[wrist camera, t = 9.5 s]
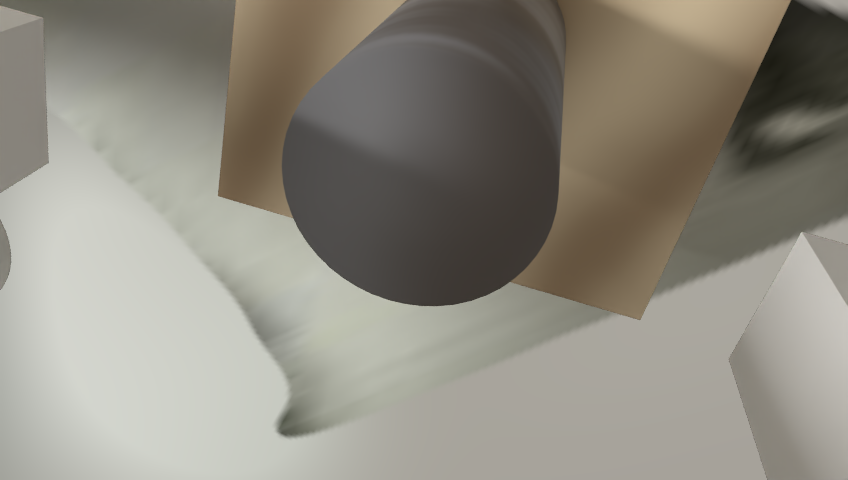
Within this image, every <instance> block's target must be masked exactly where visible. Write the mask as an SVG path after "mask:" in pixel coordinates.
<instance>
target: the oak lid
mask: <svg viewBox="0 0 848 480" xmlns="http://www.w3.org/2000/svg"><path fill="white" fill-rule="evenodd" d="M790 1H791V0H236V5H235V16H234V27H233V38H232V49H231V60H230V71H229V82H228V92H227V103H226V114H225V125H224V136H223V147H222V158H221V169H220V180H219V191H218V196H220V197H223V198H226V199H230V200H233V201H237V202H240V203H243V204H247V205H250V206H254V207H257V208H260V209H264V210H267V211H271V212H274V213H277V214H281V215H284V216H288V217H291V218H294V220H295V222H296V225H297V227H298V229H299V230H300V232H301V233H302V235H303V237H304V238H305V240H306V241H307V243H308V244H309V245H310V247H311V248H312V249H313V250H314V251H315V253H316V254H317V255H318V256H319V257H320V258H321V259H322V260H323V261H324V262H325V263H326V264H327V265H328V266H329V267H330V268H331V269H333V270H334V271H335V272H336V273H338V274H339V275H340V276H341V277H343V278H344V279H346V280H347V281H349V282H351V283H352V284H354V285H355V286H357V287H359V288H361V289H363V290H365V291H367V292H369V293H371V294H374V295H376V296H379V297H382V298H385V299H388V300H391V301H395V302H400V303H404V304H411V305H419V306H444V305H454V304H459V303H463V302H468V301H472V300H474V299H477V298H480V297H483V296H486V295H488V294H490V293H492V292H494V291H496V290H498V289H500V288H501V287H503V286H504V285H506V284H507V283H509V282H512V283H516V284H519V285H522V286H526V287H529V288H533V289H536V290H539V291H543V292H546V293H550V294H553V295H556V296H560V297H563V298H567V299H570V300H573V301H577V302H580V303H584V304H587V305H590V306H594V307H597V308H601V309H604V310H607V311H611V312H614V313H618V314H621V315H624V316H628V317H632V318H635V319H638V320H640V319H641V317H642V315H643V313H644V311H645V309H646V307H647V305H648V302H649V300H650V298H651V296H652V294H653V292H654V290H655V288H656V285H657V283H658V281H659V279H660V277H661V275H662V273H663V271H664V268H665V266H666V264H667V262H668V260H669V258H670V256H671V254H672V251H673V249H674V247H675V245H676V243H677V241H678V239H679V237H680V235H681V232H682V230H683V228H684V226H685V224H686V222H687V220H688V218H689V215H690V213H691V211H692V209H693V207H694V205H695V203H696V201H697V198H698V196H699V194H700V192H701V190H702V188H703V186H704V184H705V181H706V179H707V177H708V175H709V173H710V171H711V169H712V167H713V164H714V162H715V160H716V158H717V156H718V154H719V152H720V150H721V147H722V145H723V143H724V141H725V139H726V137H727V135H728V133H729V130H730V128H731V126H732V124H733V122H734V120H735V118H736V116H737V114H738V111H739V109H740V107H741V105H742V103H743V101H744V99H745V97H746V94H747V92H748V90H749V88H750V86H751V84H752V82H753V80H754V77H755V75H756V73H757V71H758V69H759V67H760V65H761V63H762V60H763V58H764V56H765V54H766V52H767V50H768V48H769V46H770V43H771V41H772V39H773V37H774V35H775V33H776V31H777V29H778V26H779V24H780V22H781V20H782V18H783V16H784V14H785V12H786V9H787V7H788V5H789V3H790Z"/></svg>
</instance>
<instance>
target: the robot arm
mask: <svg viewBox="0 0 848 480" xmlns="http://www.w3.org/2000/svg"><path fill="white" fill-rule="evenodd" d="M48 162H49V161H48V135H47V107H46V81H45V54H44V28H43V17H39V16H35V15H32V14H28V13H25V12H21V11H18V10H14V9H11V8H7V7H3V6H0V193H1V192H2V191H4V190H6V189H7V188H9V187H10V186H12V185H13V184H15V183H17V182H18V181H20V180H22V179H23V178H25V177H27V176H28V175H30V174H31V173H33V172H35V171H36V170H38V169H39V168H41V167H43V166H44V165H46V164H47V163H48ZM729 362H730V365H731V368H732V371H733V374H734V377H735V380H736V384H737V387H738V390H739V393H740V396H741V399H742V402H743V405H744V408H745V412H746V415H747V418H748V421H749V424H750V427H751V430H752V433H753V436H754V440H755V443H756V446H757V449H758V452H759V455H760V458H761V461H762V464H763V467H764V470H765V474H766V477H767V480H848V245H847V244H844V243H840V242H837V241H833V240H829V239H826V238H823V237H819V236H816V235H812V234H809V233H805V232H801V234H800V235H799V237H798V239H797V241H796V242H795V244H794V246H793V248H792V249H791V251H790V253H789V255H788V256H787V258H786V260H785V262H784V264H783V265H782V267H781V269H780V270H779V272H778V274H777V276H776V278H775V279H774V281H773V283H772V284H771V286H770V288H769V290H768V291H767V293H766V295H765V297H764V298H763V300H762V302H761V304H760V305H759V307H758V309H757V310H756V312H755V314H754V316H753V318H752V319H751V321H750V323H749V324H748V326H747V328H746V330H745V332H744V333H743V335H742V337H741V339H740V340H739V342H738V344H737V345H736V347H735V349H734V351H733V352H732V354H731V356H730V358H729Z"/></svg>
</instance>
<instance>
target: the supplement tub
mask: <svg viewBox="0 0 848 480" xmlns="http://www.w3.org/2000/svg"><path fill="white" fill-rule="evenodd" d="M10 265H11V252H10V245H9V241H8V237H7V234H6V231H5V229H4V227H3V225H2V222H1V220H0V290H1V288H2V287H3V285H4V284H5V282H6V279H7V277H8V275H9V271H10Z"/></svg>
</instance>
